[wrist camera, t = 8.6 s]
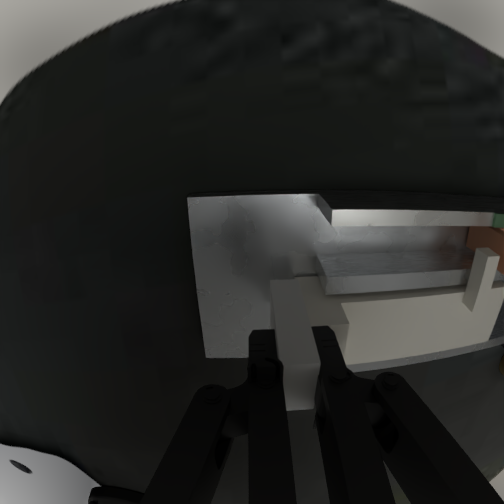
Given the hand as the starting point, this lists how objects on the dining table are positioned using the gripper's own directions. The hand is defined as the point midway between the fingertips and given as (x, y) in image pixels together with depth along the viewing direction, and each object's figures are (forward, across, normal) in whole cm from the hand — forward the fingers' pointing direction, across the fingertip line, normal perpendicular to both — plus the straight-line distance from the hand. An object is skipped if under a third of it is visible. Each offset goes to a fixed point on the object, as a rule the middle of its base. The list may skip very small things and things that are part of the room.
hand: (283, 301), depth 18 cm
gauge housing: (+3, +8, 0) cm, 8 cm away
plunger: (+1, +8, 0) cm, 8 cm away
